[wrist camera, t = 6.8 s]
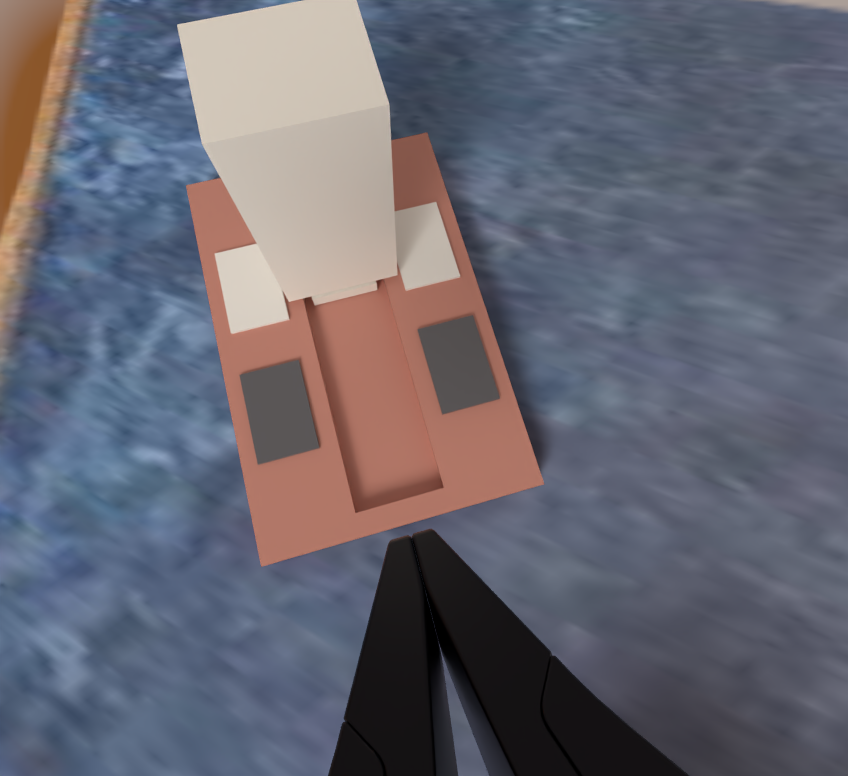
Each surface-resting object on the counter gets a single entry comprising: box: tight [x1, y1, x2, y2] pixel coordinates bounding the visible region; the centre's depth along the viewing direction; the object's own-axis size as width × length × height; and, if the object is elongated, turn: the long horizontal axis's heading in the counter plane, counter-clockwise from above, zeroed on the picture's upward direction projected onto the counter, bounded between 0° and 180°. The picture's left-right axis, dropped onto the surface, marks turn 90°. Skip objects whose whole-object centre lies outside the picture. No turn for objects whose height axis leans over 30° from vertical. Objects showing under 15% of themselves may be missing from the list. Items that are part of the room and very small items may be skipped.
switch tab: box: [177, 0, 398, 305], centre depth 19 cm, size 4×5×11 cm
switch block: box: [186, 133, 544, 567], centre depth 24 cm, size 18×12×2 cm, turn 16°
